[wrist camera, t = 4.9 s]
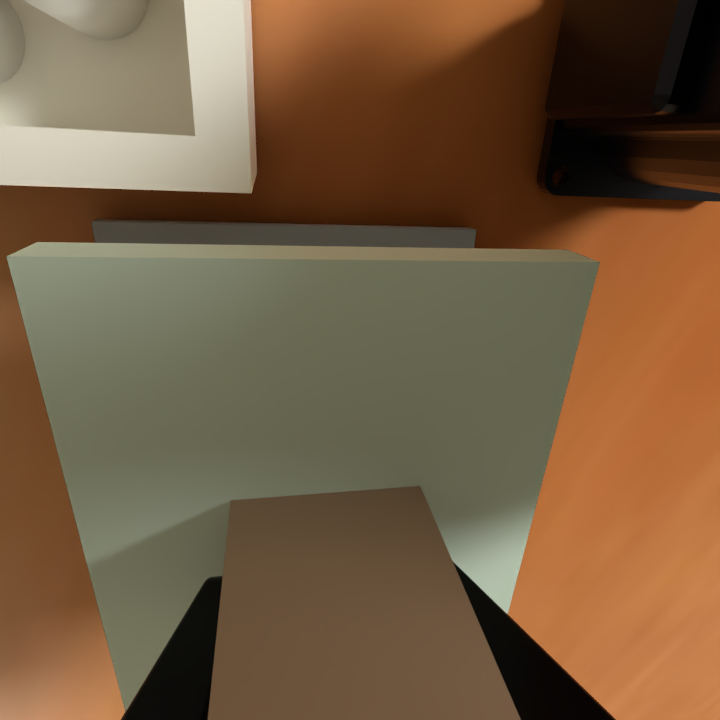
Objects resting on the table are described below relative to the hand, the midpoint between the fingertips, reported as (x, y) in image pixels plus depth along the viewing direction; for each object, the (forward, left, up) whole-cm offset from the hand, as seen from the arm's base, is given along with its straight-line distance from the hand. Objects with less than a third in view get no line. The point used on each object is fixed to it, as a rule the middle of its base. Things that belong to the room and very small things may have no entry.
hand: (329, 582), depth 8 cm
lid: (0, 0, -1) cm, 1 cm away
